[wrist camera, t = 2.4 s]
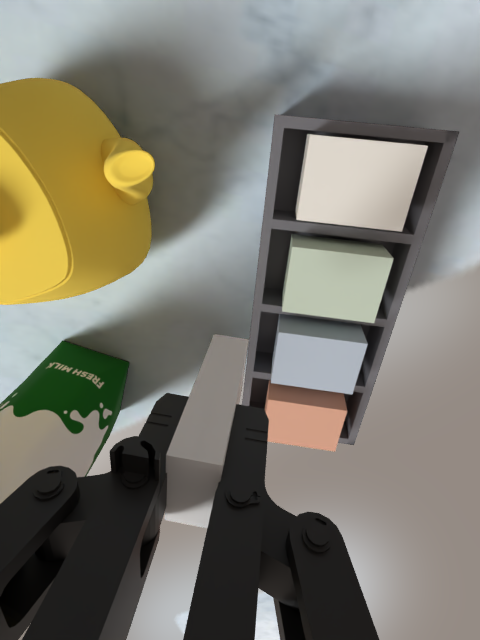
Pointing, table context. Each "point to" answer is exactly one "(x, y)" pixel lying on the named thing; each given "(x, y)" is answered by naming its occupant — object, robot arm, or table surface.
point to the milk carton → (60, 414)
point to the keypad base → (283, 224)
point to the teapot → (67, 194)
